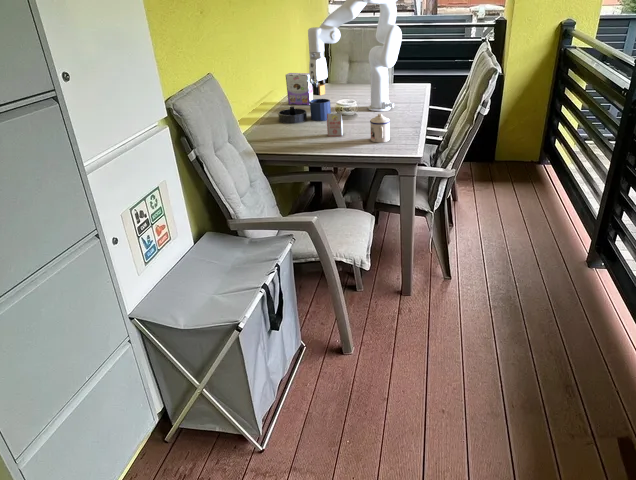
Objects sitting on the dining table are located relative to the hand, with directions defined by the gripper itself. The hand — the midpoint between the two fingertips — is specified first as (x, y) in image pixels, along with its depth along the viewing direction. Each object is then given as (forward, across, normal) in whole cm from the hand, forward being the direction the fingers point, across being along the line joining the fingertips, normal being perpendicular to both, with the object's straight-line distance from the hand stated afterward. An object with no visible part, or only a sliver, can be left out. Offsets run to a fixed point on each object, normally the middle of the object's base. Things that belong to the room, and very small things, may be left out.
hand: (319, 93), depth 274 cm
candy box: (+13, +23, +30) cm, 40 cm away
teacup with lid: (+13, -22, -48) cm, 54 cm away
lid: (+12, -8, +12) cm, 19 cm away
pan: (+13, -8, +12) cm, 19 cm away
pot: (+13, 0, 0) cm, 13 cm away
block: (0, 0, 0) cm, 0 cm away
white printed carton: (+13, -23, -24) cm, 36 cm away
